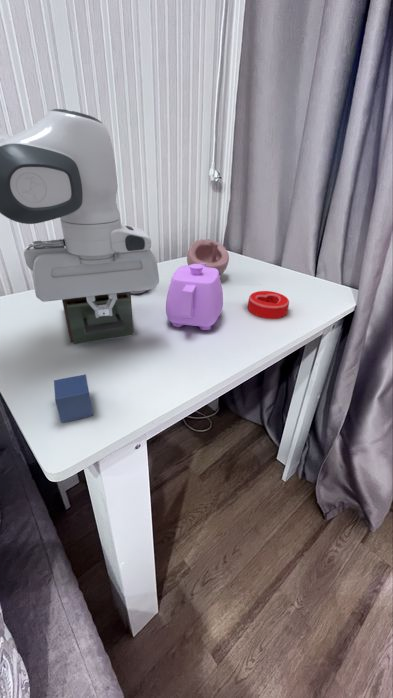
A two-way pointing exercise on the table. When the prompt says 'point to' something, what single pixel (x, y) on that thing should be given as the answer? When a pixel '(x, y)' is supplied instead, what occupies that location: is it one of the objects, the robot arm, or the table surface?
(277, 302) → the decorative ornament
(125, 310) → the drawer
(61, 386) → the block
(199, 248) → the mortar and pestle
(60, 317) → the table surface
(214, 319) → the teapot
